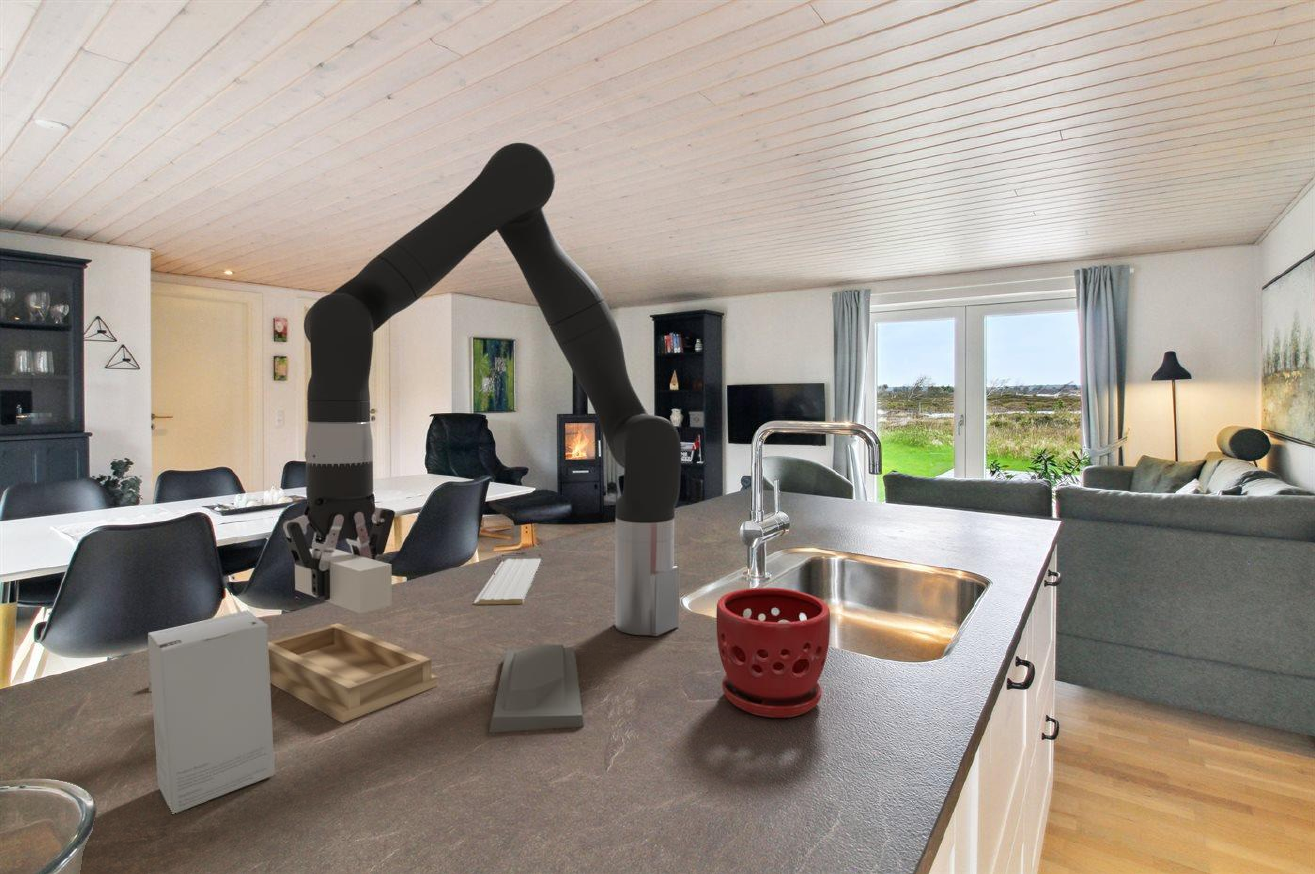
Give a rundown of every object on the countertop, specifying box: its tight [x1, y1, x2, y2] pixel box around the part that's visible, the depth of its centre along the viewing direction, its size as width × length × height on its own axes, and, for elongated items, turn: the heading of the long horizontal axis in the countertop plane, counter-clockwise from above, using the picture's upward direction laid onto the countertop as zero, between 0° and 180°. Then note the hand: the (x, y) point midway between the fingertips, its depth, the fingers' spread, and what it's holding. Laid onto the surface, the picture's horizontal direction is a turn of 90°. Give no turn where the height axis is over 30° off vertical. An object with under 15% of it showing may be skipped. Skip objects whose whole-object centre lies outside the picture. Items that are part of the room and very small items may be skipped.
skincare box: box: [147, 609, 275, 815], centre depth 60 cm, size 8×6×15 cm
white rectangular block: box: [294, 548, 393, 614], centre depth 83 cm, size 16×4×5 cm, turn 53°
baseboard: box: [473, 552, 542, 605], centre depth 130 cm, size 30×3×10 cm
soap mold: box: [489, 643, 585, 733], centre depth 81 cm, size 10×20×4 cm, turn 9°
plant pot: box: [715, 587, 831, 719], centre depth 78 cm, size 13×13×12 cm
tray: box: [268, 622, 438, 724], centre depth 83 cm, size 22×12×4 cm, turn 54°
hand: (341, 594), depth 83 cm, fingers closed on white rectangular block, 4 cm apart
